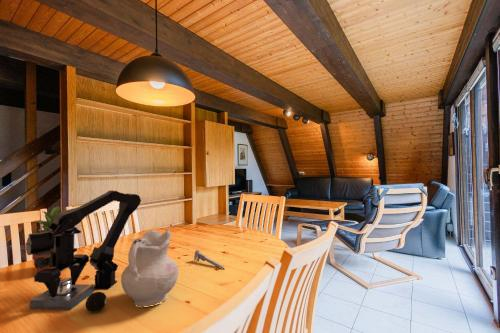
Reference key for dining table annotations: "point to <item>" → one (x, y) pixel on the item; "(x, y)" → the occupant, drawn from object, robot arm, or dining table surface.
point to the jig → (62, 298)
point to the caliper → (205, 259)
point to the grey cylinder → (64, 287)
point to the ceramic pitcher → (149, 269)
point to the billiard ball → (96, 302)
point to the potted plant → (45, 224)
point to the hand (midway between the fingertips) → (63, 290)
